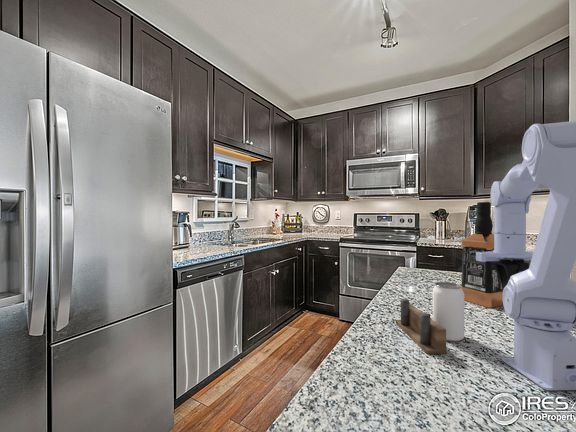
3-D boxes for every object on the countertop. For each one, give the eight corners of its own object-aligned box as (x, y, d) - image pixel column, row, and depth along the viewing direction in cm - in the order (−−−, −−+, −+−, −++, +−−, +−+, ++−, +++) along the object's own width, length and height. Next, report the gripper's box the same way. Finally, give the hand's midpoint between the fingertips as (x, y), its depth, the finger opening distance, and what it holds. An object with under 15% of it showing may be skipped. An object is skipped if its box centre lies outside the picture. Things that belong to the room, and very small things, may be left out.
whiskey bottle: (510, 304, 87) (511, 201, 87) (489, 308, 83) (490, 201, 83) (477, 295, 97) (477, 202, 96) (457, 298, 93) (457, 202, 93)
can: (469, 343, 62) (469, 289, 62) (437, 340, 63) (437, 288, 63) (458, 331, 68) (458, 282, 68) (429, 328, 70) (429, 280, 69)
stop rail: (446, 353, 58) (446, 319, 57) (426, 354, 57) (426, 320, 57) (410, 322, 74) (410, 296, 73) (395, 322, 73) (395, 296, 73)
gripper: (525, 231, 69) (525, 286, 69) (467, 232, 68) (467, 287, 69) (553, 234, 62) (552, 295, 62) (488, 235, 61) (488, 296, 62)
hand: (509, 292), depth 65 cm, fingers closed
